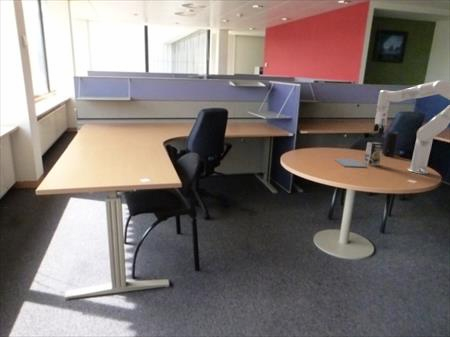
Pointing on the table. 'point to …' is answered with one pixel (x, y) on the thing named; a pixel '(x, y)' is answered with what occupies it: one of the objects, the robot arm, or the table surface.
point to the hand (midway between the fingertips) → (378, 132)
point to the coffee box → (373, 153)
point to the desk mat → (350, 163)
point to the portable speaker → (390, 143)
